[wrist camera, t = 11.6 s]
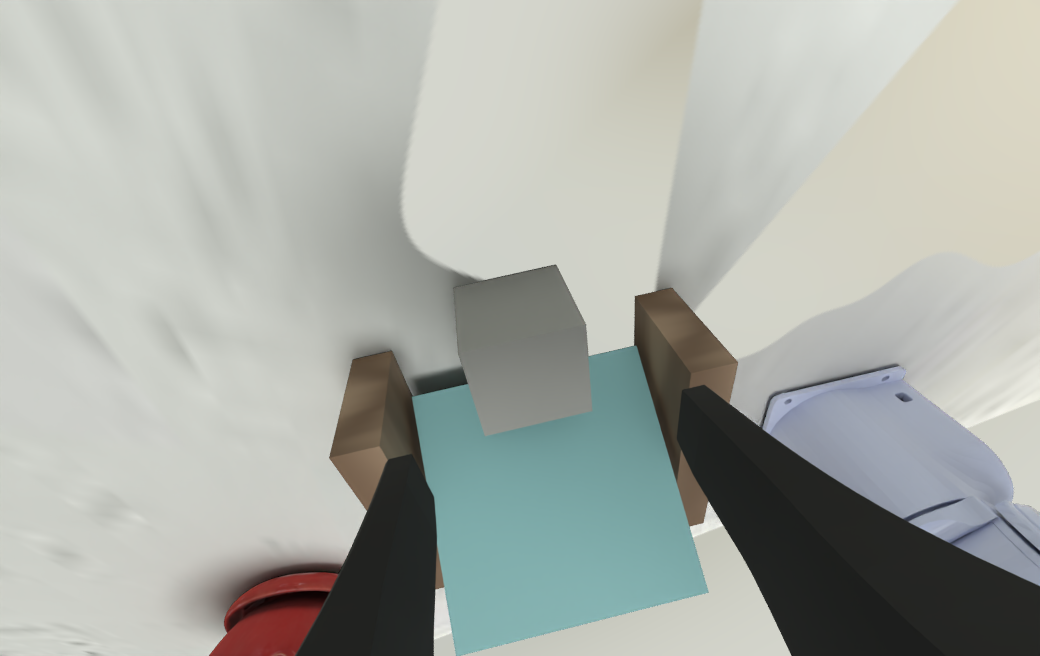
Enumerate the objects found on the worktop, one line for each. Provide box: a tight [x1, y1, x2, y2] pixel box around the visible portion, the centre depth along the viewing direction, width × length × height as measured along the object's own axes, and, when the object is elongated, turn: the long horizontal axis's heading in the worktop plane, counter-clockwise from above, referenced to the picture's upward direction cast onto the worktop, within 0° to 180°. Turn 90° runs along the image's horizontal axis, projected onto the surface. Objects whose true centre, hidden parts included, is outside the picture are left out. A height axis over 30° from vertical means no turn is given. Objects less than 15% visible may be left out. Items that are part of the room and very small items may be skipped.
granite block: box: [453, 265, 592, 436], centre depth 20 cm, size 5×5×5 cm
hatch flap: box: [412, 346, 708, 656], centre depth 22 cm, size 12×12×3 cm
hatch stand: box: [329, 288, 738, 589], centre depth 24 cm, size 17×15×6 cm
